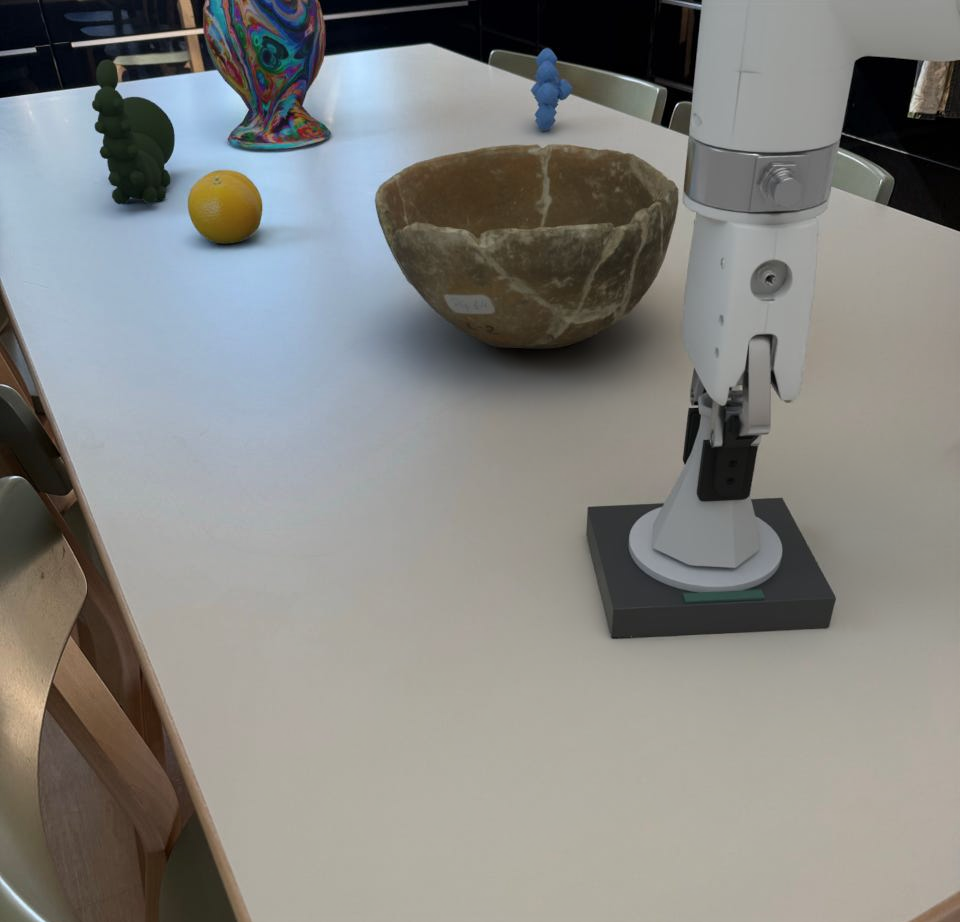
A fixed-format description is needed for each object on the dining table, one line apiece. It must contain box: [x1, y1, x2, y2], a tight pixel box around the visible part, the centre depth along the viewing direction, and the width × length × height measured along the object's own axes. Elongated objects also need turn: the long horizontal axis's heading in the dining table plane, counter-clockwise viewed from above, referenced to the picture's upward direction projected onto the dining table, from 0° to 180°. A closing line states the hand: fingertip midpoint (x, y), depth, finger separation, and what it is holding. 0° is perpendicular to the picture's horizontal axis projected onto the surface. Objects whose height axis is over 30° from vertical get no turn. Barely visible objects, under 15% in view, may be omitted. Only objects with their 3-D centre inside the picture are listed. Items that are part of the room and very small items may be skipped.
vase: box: [202, 0, 332, 150], centre depth 155 cm, size 18×18×30 cm
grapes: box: [530, 47, 574, 132], centre depth 161 cm, size 12×7×12 cm, turn 179°
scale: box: [585, 497, 837, 639], centre depth 68 cm, size 14×12×3 cm
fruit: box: [187, 169, 264, 244], centre depth 124 cm, size 9×8×8 cm
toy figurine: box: [91, 59, 176, 205], centre depth 137 cm, size 9×19×25 cm
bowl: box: [374, 143, 680, 350], centre depth 96 cm, size 28×27×15 cm
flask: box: [653, 390, 760, 568], centre depth 64 cm, size 7×7×10 cm
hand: (714, 478), depth 64 cm, fingers closed on flask, 3 cm apart
